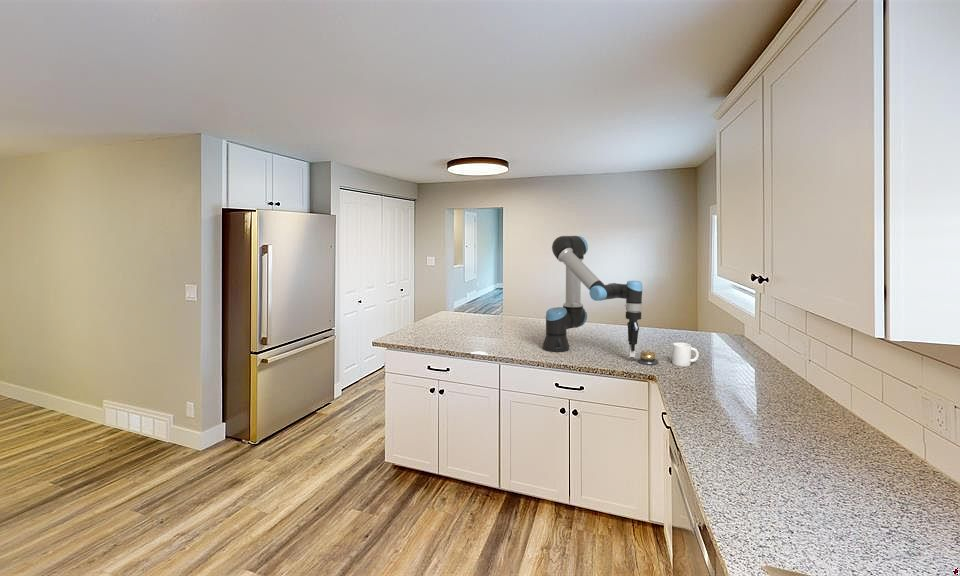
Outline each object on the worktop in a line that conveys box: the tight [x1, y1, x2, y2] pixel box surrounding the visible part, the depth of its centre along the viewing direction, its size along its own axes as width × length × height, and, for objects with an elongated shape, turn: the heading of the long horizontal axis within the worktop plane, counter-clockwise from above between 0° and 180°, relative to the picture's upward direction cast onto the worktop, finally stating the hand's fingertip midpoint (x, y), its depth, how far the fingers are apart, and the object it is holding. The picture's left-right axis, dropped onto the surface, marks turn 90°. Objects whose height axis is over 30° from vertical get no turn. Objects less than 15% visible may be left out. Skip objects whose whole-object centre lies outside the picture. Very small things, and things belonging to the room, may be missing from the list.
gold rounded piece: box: [629, 349, 656, 361], centre depth 214 cm, size 12×7×4 cm, turn 68°
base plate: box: [636, 358, 659, 366], centre depth 213 cm, size 10×10×1 cm
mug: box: [671, 342, 700, 368], centre depth 208 cm, size 12×8×10 cm
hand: (631, 356), depth 214 cm, fingers closed
